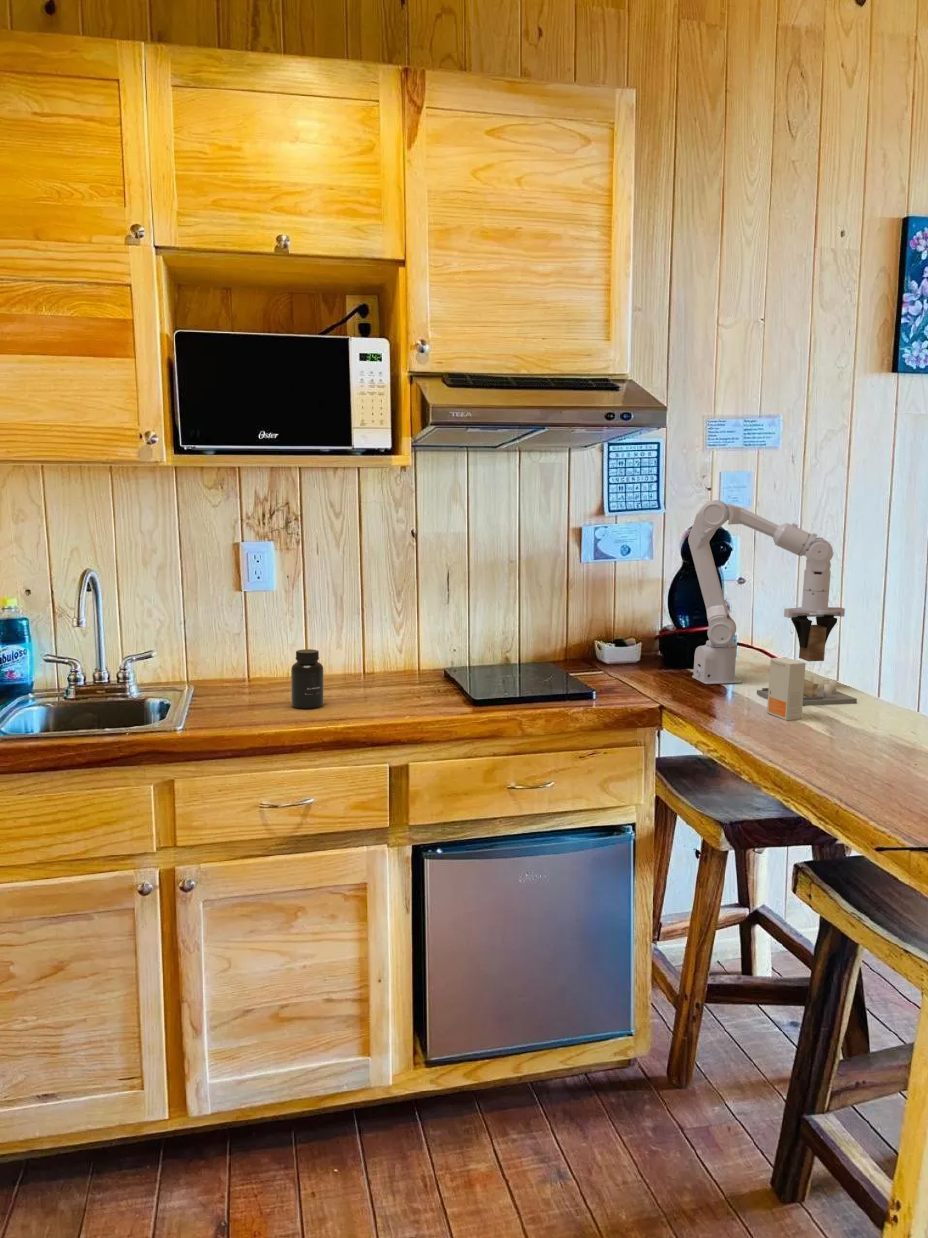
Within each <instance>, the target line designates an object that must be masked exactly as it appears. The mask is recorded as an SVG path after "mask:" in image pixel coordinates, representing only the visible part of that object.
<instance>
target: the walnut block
mask: <svg viewBox="0 0 928 1238" xmlns="http://www.w3.org/2000/svg"><path fill="white" fill-rule="evenodd" d="M825 641H826V627H823V626H819V625H817V624H811V627H810V630H809V636H808V645H807V648H803V647H800V646H799V649H798V650H799V652H798V653H799V654H798V659H801V660H803V661H805V662H824V661H825V653H826V652H825V651H826V644H825ZM826 642H827V641H826Z"/></svg>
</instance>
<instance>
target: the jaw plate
mask: <svg viewBox="0 0 928 1238" xmlns="http://www.w3.org/2000/svg"><path fill="white" fill-rule="evenodd" d="M818 686H819V685H818V683H816V682H811V681H808V680H806V678H804V692H803V694H805V695H807V696H809V697H816V696H817V688H819V687H818Z"/></svg>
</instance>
